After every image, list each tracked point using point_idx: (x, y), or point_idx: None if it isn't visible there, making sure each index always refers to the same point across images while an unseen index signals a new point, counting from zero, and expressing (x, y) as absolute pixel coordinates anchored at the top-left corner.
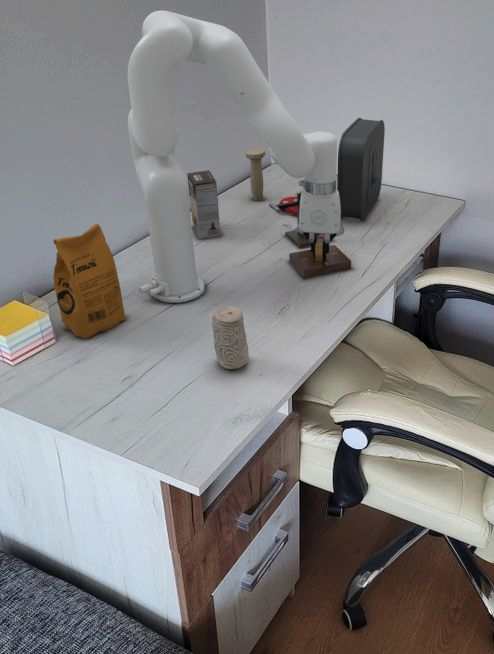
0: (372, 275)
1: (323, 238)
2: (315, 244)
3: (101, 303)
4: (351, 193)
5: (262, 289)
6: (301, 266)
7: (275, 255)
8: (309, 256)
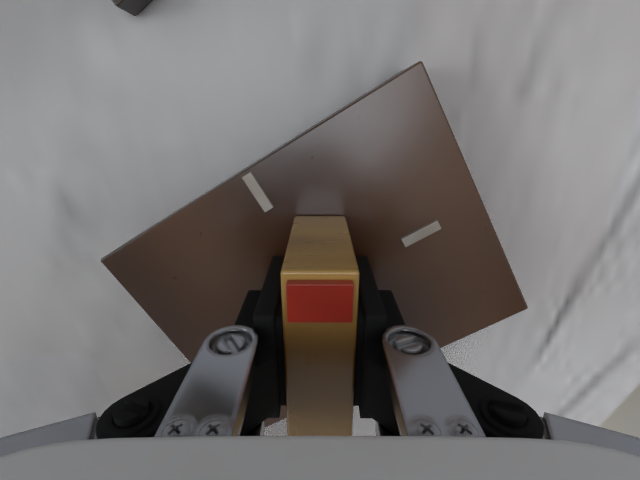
0: (603, 325)
1: (349, 323)
2: (284, 403)
3: None
4: None
5: None
6: None
7: (13, 159)
8: (248, 286)
